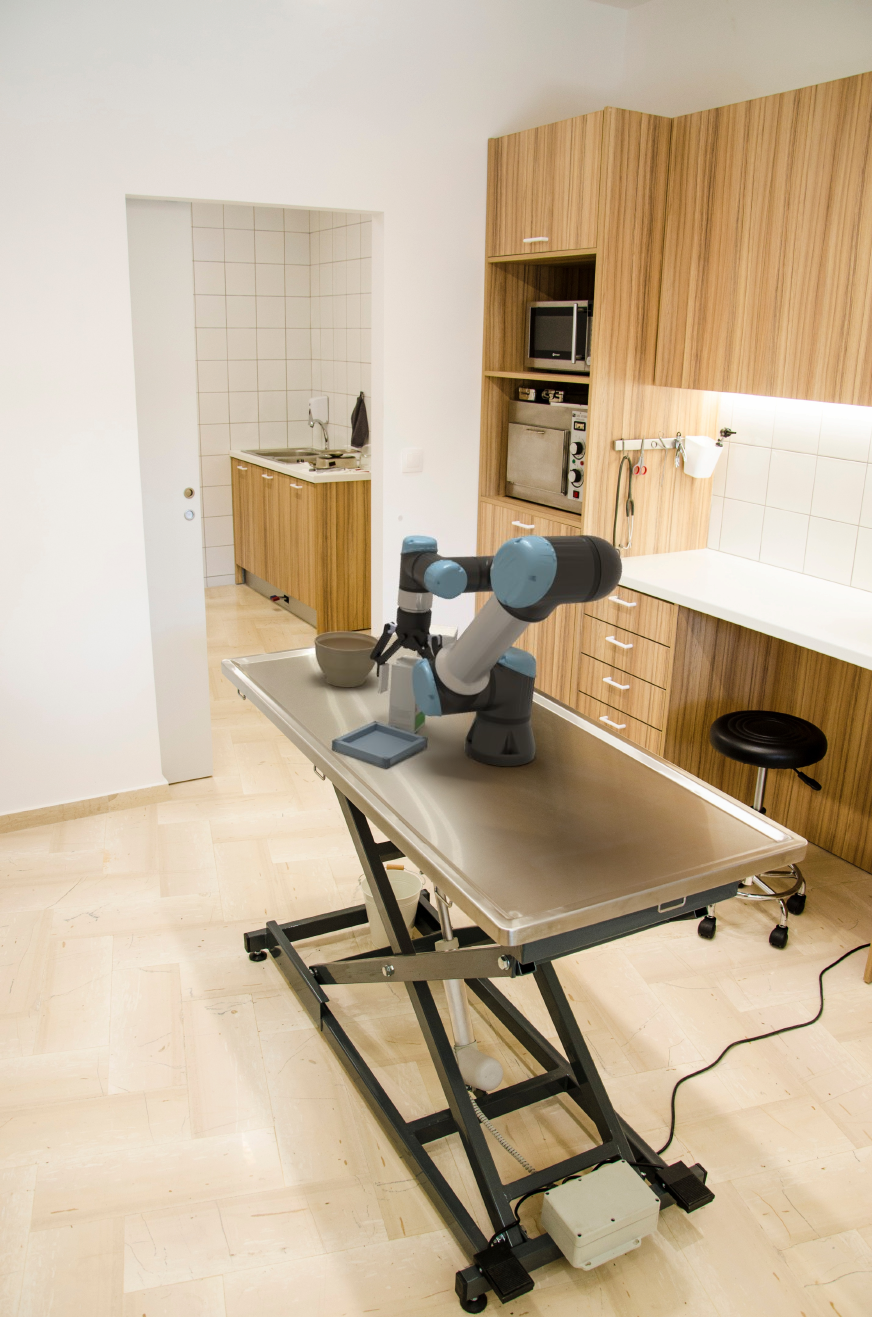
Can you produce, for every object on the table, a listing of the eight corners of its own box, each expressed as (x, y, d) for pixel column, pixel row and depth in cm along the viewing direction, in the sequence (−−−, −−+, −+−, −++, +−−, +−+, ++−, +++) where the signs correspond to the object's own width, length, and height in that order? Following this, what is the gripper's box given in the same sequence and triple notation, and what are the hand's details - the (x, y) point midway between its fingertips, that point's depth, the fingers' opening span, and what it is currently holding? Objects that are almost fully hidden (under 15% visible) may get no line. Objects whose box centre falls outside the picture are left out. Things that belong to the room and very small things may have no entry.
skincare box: (413, 735, 217) (418, 668, 212) (385, 730, 219) (389, 663, 214) (425, 723, 224) (431, 658, 219) (398, 717, 226) (403, 653, 221)
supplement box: (449, 694, 243) (454, 636, 239) (413, 690, 245) (417, 632, 240) (454, 682, 252) (459, 626, 247) (419, 678, 253) (424, 622, 248)
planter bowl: (385, 676, 252) (388, 636, 249) (365, 696, 237) (368, 653, 234) (326, 667, 256) (328, 627, 252) (302, 686, 241) (304, 644, 237)
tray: (427, 747, 211) (427, 738, 211) (386, 769, 199) (386, 759, 198) (374, 729, 218) (374, 720, 217) (331, 749, 206) (332, 740, 205)
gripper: (472, 617, 210) (463, 709, 216) (378, 592, 222) (372, 681, 229) (454, 624, 204) (445, 719, 210) (358, 598, 216) (352, 689, 223)
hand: (407, 699), depth 220 cm, fingers open, 13 cm apart
